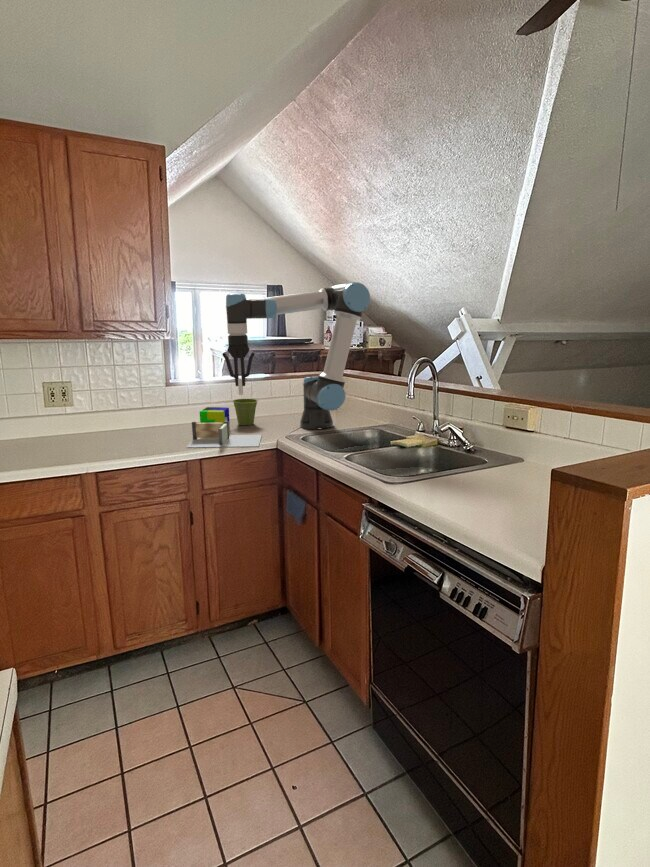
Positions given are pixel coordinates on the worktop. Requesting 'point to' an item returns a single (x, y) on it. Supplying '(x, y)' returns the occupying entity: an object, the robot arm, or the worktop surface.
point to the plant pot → (245, 410)
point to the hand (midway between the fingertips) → (241, 394)
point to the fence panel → (222, 434)
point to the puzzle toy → (214, 415)
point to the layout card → (227, 442)
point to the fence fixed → (207, 429)
